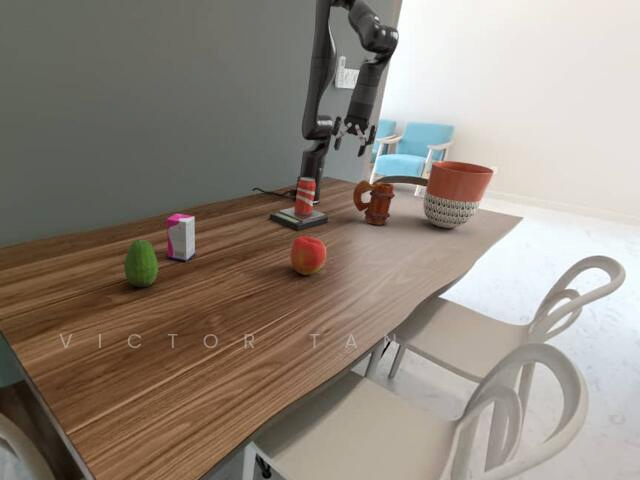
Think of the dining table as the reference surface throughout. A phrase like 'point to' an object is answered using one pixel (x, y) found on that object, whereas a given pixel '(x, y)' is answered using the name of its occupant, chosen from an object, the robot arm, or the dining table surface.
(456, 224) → the planter
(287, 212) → the scale pan
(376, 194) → the mug
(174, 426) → the dining table surface
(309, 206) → the beverage can
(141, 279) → the avocado
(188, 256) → the supplement box
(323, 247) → the apple
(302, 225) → the scale
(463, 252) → the dining table surface
